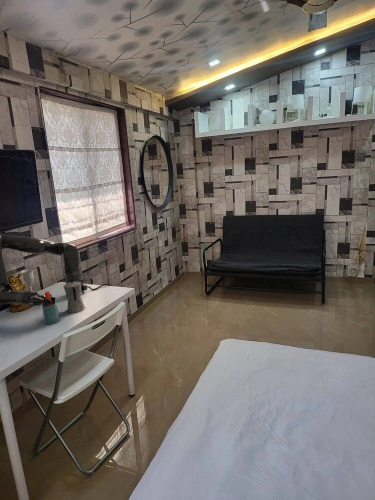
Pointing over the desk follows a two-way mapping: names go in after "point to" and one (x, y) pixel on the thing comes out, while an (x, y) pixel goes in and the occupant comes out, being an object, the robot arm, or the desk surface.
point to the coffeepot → (74, 296)
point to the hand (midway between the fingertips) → (52, 300)
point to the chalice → (28, 277)
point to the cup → (50, 313)
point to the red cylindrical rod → (47, 296)
